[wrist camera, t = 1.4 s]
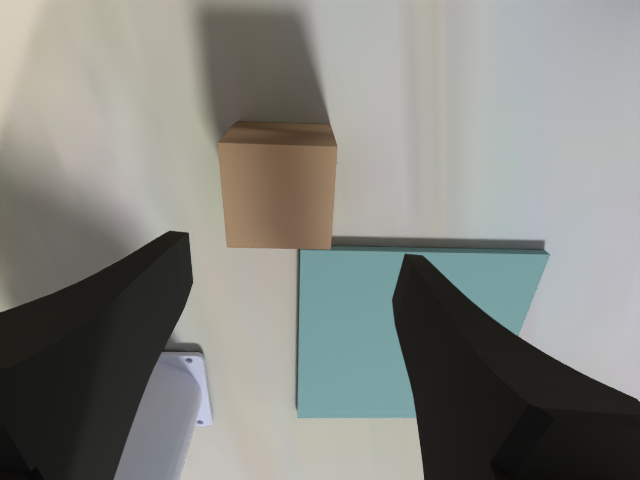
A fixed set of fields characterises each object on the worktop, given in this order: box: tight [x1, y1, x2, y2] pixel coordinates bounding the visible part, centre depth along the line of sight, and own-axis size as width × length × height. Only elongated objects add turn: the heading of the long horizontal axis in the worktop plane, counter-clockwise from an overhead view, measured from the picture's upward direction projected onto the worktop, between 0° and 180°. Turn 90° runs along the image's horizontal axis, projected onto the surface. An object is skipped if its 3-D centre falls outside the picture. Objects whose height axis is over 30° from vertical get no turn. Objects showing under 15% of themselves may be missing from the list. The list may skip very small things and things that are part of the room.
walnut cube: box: [218, 121, 337, 249], centre depth 19 cm, size 5×5×5 cm
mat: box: [297, 246, 550, 418], centre depth 27 cm, size 16×16×1 cm
